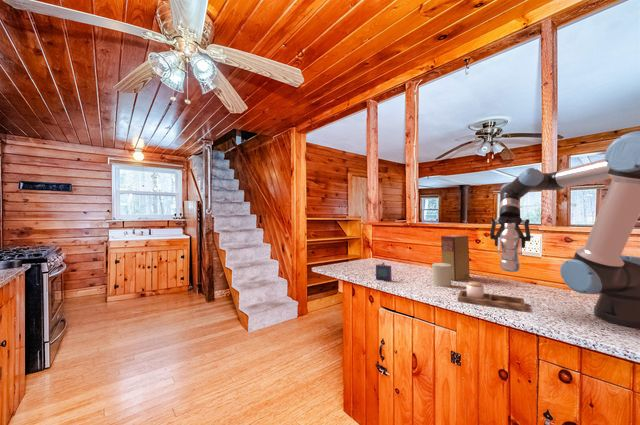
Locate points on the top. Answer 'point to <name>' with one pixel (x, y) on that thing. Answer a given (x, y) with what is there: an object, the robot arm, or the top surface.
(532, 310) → the top surface
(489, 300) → the caddy
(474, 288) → the jar
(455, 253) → the food packaging
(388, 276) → the flask
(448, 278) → the can
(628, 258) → the robot arm
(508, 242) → the plastic bottle
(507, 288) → the top surface
